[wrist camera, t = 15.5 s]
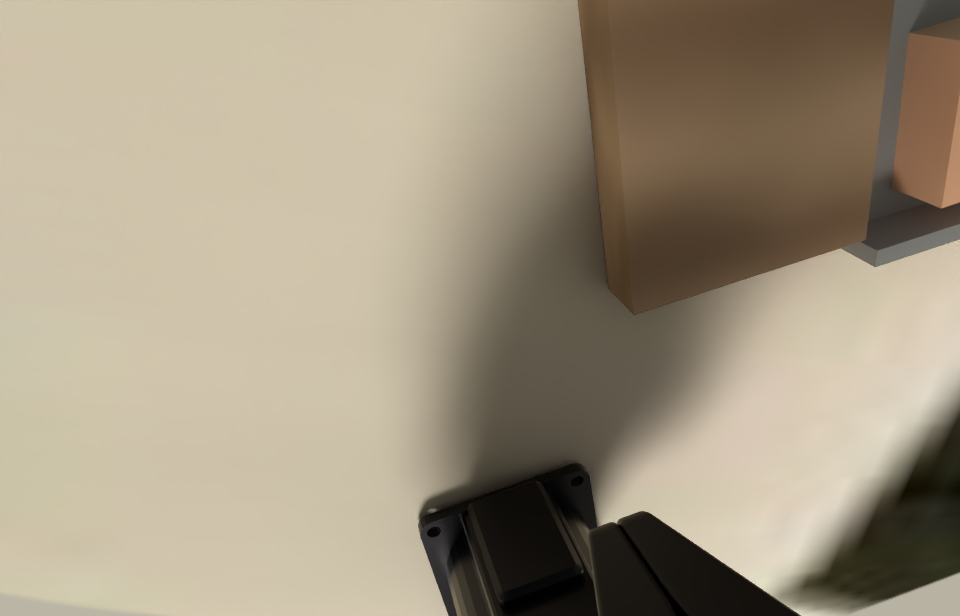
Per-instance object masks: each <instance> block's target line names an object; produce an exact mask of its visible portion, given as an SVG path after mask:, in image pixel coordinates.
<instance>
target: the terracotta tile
mask: <svg viewBox="0 0 960 616" xmlns="http://www.w3.org/2000/svg"><path fill="white" fill-rule="evenodd" d="M891 188H892V189H895V190H897V191H899V192H902V193H904V194H907V195H909V196H912V197H914V198H917V199H919V200H922V201H924V202H927V203H929V204H932V205H934V206H936V207H939V208H941V209H942V208H945V207H948V206H950V205H953V204H956V203H959V202H960V17H959V18H955V19H952V20H949V21H946V22H942V23H939V24H936V25H933V26H930V27H926V28H923V29H920V30H917V31H914V32H910V33H909V36H908V45H907V54H906V63H905V71H904V80H903V89H902V98H901V107H900V116H899V125H898V134H897V142H896V151H895V160H894V169H893V178H892V187H891Z"/></svg>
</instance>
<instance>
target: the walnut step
mask: <svg viewBox="0 0 960 616" xmlns="http://www.w3.org/2000/svg"><path fill="white" fill-rule="evenodd" d="M894 2H895V0H578V6H579V16H580V25H581V34H582V44H583V53H584V63H585V72H586V81H587V91H588V100H589V109H590V119H591V128H592V137H593V147H594V156H595V165H596V175H597V184H598V193H599V203H600V212H601V221H602V231H603V240H604V250H605V259H606V268H607V278H608V287H609V289H610V291H611V292H612V293H613V294H614V295H615V296H616V297H617V298H618V299H619V300H620V301H621V302H622V303H623V304H624V305H625V306H626V307H627V308H628V309H629V310H630V311H631V312H632V313H633V315H636V314H639V313H642V312H645V311H648V310H651V309H654V308H657V307H660V306H663V305H666V304H670V303H673V302H676V301H679V300H682V299H685V298H688V297H691V296H694V295H697V294H700V293H704V292H707V291H710V290H713V289H716V288H719V287H722V286H725V285H728V284H731V283H734V282H737V281H741V280H744V279H747V278H750V277H753V276H756V275H759V274H762V273H765V272H768V271H771V270H774V269H778V268H781V267H784V266H787V265H790V264H793V263H796V262H799V261H802V260H805V259H808V258H812V257H815V256H818V255H821V254H824V253H827V252H830V251H833V250H836V249H839V248H842V247H845V246H849V245H852V244H855V243H858V242H861V241H864V240H866V235H867V227H868V218H869V210H870V202H871V193H872V185H873V177H874V168H875V160H876V152H877V144H878V135H879V127H880V119H881V110H882V102H883V94H884V85H885V77H886V69H887V61H888V52H889V44H890V36H891V27H892V19H893V11H894Z"/></svg>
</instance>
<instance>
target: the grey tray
mask: <svg viewBox="0 0 960 616" xmlns="http://www.w3.org/2000/svg"><path fill="white" fill-rule="evenodd" d="M959 17H960V0H895V2H894V11H893V19H892V27H891V36H890V44H889V52H888V61H887V69H886V77H885V85H884V94H883V102H882V110H881V119H880V127H879V135H878V144H877V152H876V160H875V168H874V177H873V185H872V193H871V202H870V210H869V218H868V227H867V235H866V240H864V241H861V242H858V243H855V244H852V245H849V246H845V247H842V248H841V249H843V250H845V251H847V252H849V253H850V254H852V255H854V256H856V257H858V258H860V259H861V260H863V261H865V262H867V263H869V264H871V265H872V266H874V267H877V266H880V265H883V264H886V263H889V262H892V261H895V260H898V259H901V258H904V257H907V256H911V255H914V254H917V253H920V252H923V251H926V250H929V249H932V248H935V247H938V246H941V245H944V244H947V243H950V242H953V241H956V240H959V239H960V202H959V203H956V204H953V205H950V206H948V207H945V208H942V209H941V208H939V207H936V206H934V205H932V204H929V203H927V202H924V201H922V200H919V199H917V198H914V197H912V196H909V195H907V194H904V193H902V192H899V191H897V190H895V189H892V188H891V187H892V178H893V169H894V160H895V151H896V142H897V134H898V125H899V116H900V107H901V98H902V89H903V80H904V71H905V63H906V54H907V45H908V36H909V33H910V32H914V31H917V30H920V29H923V28H926V27H930V26H933V25H936V24H939V23H942V22H946V21H949V20H952V19H955V18H959Z"/></svg>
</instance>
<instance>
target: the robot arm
mask: <svg viewBox="0 0 960 616" xmlns="http://www.w3.org/2000/svg"><path fill="white" fill-rule="evenodd" d="M576 476H577V477H576ZM574 477H576V478H574ZM573 478H574V479H573ZM432 527H435V528H434V529H430V528H432ZM418 528H419V532H420V536H421V539H422V542H423V545H424V548H425V551H426V553H427V556H428V559H429V562H430V565H431V567H432V570H433V573H434V576H435V579H436V581H437V584H438V587H439V590H440V593H441V595H442V598H443V601H444V604H445V607H446V609H447V612H448V615H449V616H801V615H799V614H798V613H796V612H795V611H793V610H792V609H790V608H789V607H787V606H786V605H784V604H783V603H781V602H780V601H778V600H777V599H776V598H774V597H773V596H771V595H770V594H768V593H767V592H765V591H764V590H762V589H761V588H759V587H758V586H756V585H755V584H753V583H752V582H750V581H749V580H748V579H746V578H745V577H743V576H742V575H740V574H739V573H737V572H736V571H734V570H733V569H731V568H730V567H728V566H727V565H725V564H724V563H722V562H721V561H720V560H718V559H717V558H715V557H714V556H712V555H711V554H709V553H708V552H706V551H705V550H703V549H702V548H700V547H699V546H697V545H696V544H695V543H693V542H692V541H690V540H689V539H687V538H686V537H684V536H683V535H681V534H680V533H678V532H677V531H675V530H674V529H672V528H671V527H669V526H668V525H667V524H665V523H664V522H662V521H661V520H659V519H658V518H656V517H655V516H653V515H652V514H650V513H648V512H645V511H640V512H637V513H634V514H632V515H629V516H626V517H624V518H621V519H619V520H618V522H617V524H616V523H614V522H610V523H607V524H604V525H602V526H599V527H597V523H596V516H595V509H594V503H593V496H592V489H591V483H590V477H589V474H588V472H587V471H586V469H585V467H584V466H583V465H581V464H577V463H576V464H571V465H568V466H565V467H562V468H560V469H557V470H554V471H551V472H548V473H545V474H543V475H540V476H537V477H534V478H531V479H528V480H525V481H523V482H520V483H517V484H514V485H511V486H508V487H505V488H503V489H500V490H497V491H494V492H491V493H488V494H485V495H483V496H480V497H477V498H474V499H471V500H468V501H466V502H463V503H460V504H457V505H454V506H451V507H448V508H446V509H443V510H440V511H437V512H434V513H431V514H429V515H427V516H425V517H423V518H422V519H421V520H420V522H419V524H418Z"/></svg>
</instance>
